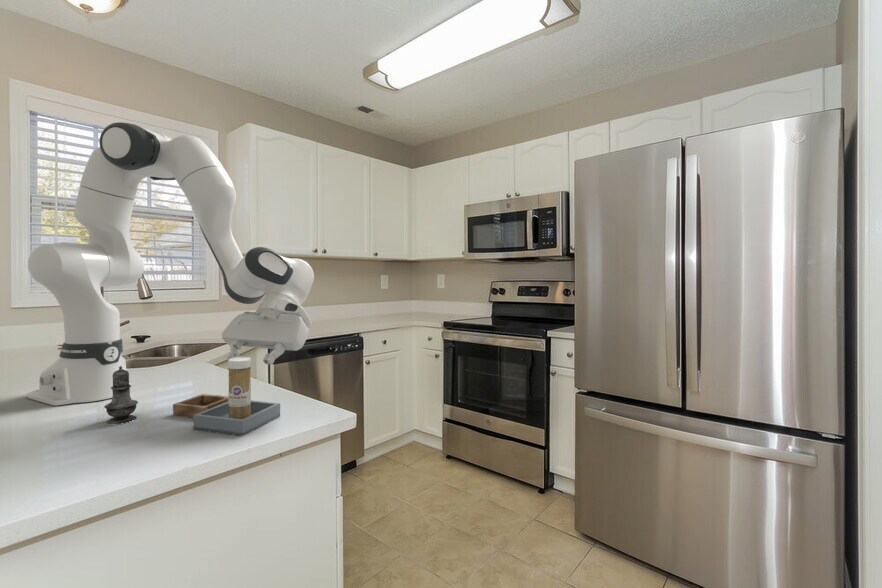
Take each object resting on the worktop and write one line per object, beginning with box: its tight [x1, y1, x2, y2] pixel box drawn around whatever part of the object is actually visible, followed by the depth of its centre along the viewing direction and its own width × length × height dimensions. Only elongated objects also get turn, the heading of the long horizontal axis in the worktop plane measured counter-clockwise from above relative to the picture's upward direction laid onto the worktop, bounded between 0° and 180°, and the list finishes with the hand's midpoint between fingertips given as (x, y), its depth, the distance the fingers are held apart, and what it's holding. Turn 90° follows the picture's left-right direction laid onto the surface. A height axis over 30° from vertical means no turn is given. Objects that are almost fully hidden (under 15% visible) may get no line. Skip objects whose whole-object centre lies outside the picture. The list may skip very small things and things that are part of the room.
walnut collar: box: [172, 393, 228, 419], centre depth 99 cm, size 9×9×2 cm
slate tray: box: [193, 399, 281, 436], centre depth 92 cm, size 12×12×3 cm
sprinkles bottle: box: [227, 356, 252, 419], centre depth 92 cm, size 5×5×13 cm
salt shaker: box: [103, 366, 139, 425], centre depth 92 cm, size 6×6×12 cm
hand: (249, 361), depth 94 cm, fingers open, 8 cm apart
